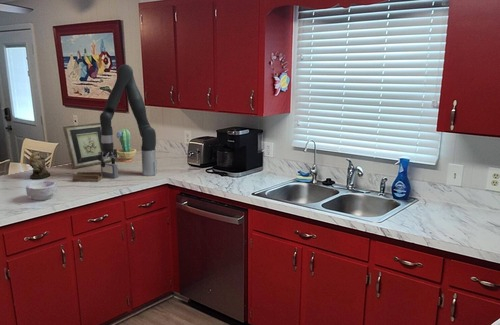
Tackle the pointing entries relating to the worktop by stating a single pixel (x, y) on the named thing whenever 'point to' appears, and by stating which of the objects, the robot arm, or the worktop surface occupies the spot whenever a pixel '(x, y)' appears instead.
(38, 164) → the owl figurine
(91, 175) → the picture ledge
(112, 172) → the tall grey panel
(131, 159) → the potted cactus
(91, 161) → the picture frame
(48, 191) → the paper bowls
